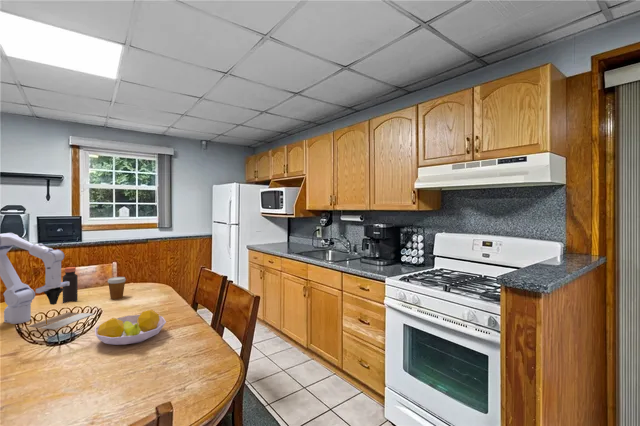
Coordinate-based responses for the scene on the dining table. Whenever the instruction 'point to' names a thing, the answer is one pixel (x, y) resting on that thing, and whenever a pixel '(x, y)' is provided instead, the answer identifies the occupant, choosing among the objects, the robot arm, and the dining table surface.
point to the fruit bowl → (130, 328)
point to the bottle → (72, 290)
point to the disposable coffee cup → (116, 287)
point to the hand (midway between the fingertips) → (53, 304)
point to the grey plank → (67, 321)
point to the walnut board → (52, 320)
